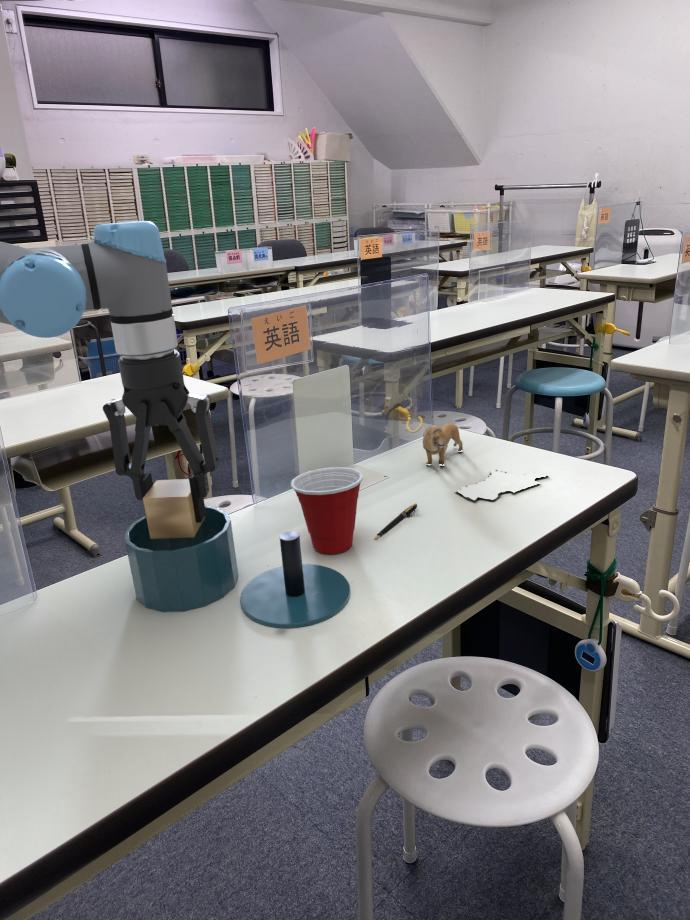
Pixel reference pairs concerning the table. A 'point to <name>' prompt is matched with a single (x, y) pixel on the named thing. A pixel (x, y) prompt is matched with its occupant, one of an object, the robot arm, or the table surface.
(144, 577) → the tin
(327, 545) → the plastic cup
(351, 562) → the table surface
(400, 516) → the fountain pen
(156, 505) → the block
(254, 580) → the lid
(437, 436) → the lion figurine
